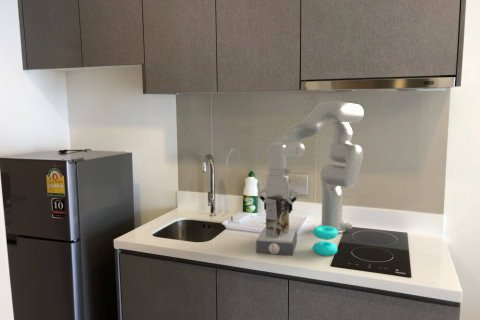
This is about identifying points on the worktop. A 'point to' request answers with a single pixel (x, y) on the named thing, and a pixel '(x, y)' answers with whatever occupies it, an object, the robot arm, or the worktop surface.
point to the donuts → (325, 246)
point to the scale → (277, 243)
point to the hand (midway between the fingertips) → (278, 211)
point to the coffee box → (277, 217)
